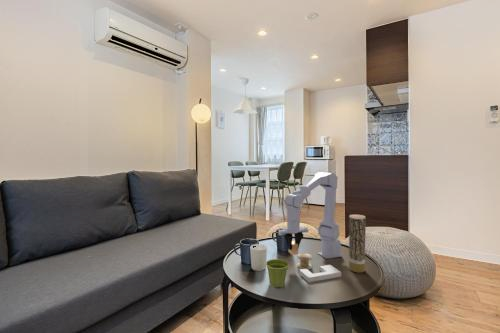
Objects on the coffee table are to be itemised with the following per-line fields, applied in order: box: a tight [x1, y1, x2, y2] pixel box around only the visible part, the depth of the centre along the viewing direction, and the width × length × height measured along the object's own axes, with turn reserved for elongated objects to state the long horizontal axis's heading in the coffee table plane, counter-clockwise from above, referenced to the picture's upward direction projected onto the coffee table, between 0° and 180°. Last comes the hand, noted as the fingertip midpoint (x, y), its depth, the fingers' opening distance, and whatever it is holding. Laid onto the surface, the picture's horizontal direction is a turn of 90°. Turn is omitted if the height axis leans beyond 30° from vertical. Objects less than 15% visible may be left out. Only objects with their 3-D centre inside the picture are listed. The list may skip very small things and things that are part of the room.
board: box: [299, 264, 342, 283], centre depth 114 cm, size 16×8×2 cm, turn 108°
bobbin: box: [296, 252, 313, 271], centre depth 122 cm, size 7×7×5 cm
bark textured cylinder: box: [348, 214, 367, 274], centre depth 118 cm, size 7×7×25 cm
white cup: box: [249, 243, 268, 272], centre depth 121 cm, size 8×8×10 cm
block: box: [287, 240, 299, 256], centre depth 120 cm, size 3×4×5 cm
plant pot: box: [266, 258, 290, 288], centre depth 106 cm, size 9×9×9 cm
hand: (293, 248), depth 120 cm, fingers closed on block, 3 cm apart
